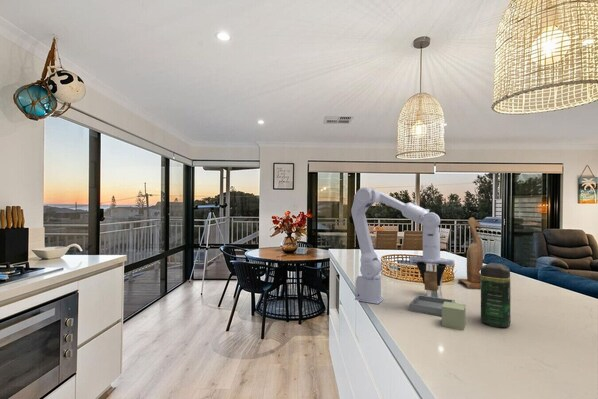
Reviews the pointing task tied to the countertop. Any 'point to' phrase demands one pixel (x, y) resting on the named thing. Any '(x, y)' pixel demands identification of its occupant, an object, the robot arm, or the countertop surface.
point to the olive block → (453, 315)
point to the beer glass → (438, 293)
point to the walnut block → (430, 281)
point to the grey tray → (428, 304)
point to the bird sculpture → (474, 258)
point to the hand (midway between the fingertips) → (431, 284)
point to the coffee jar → (495, 295)
